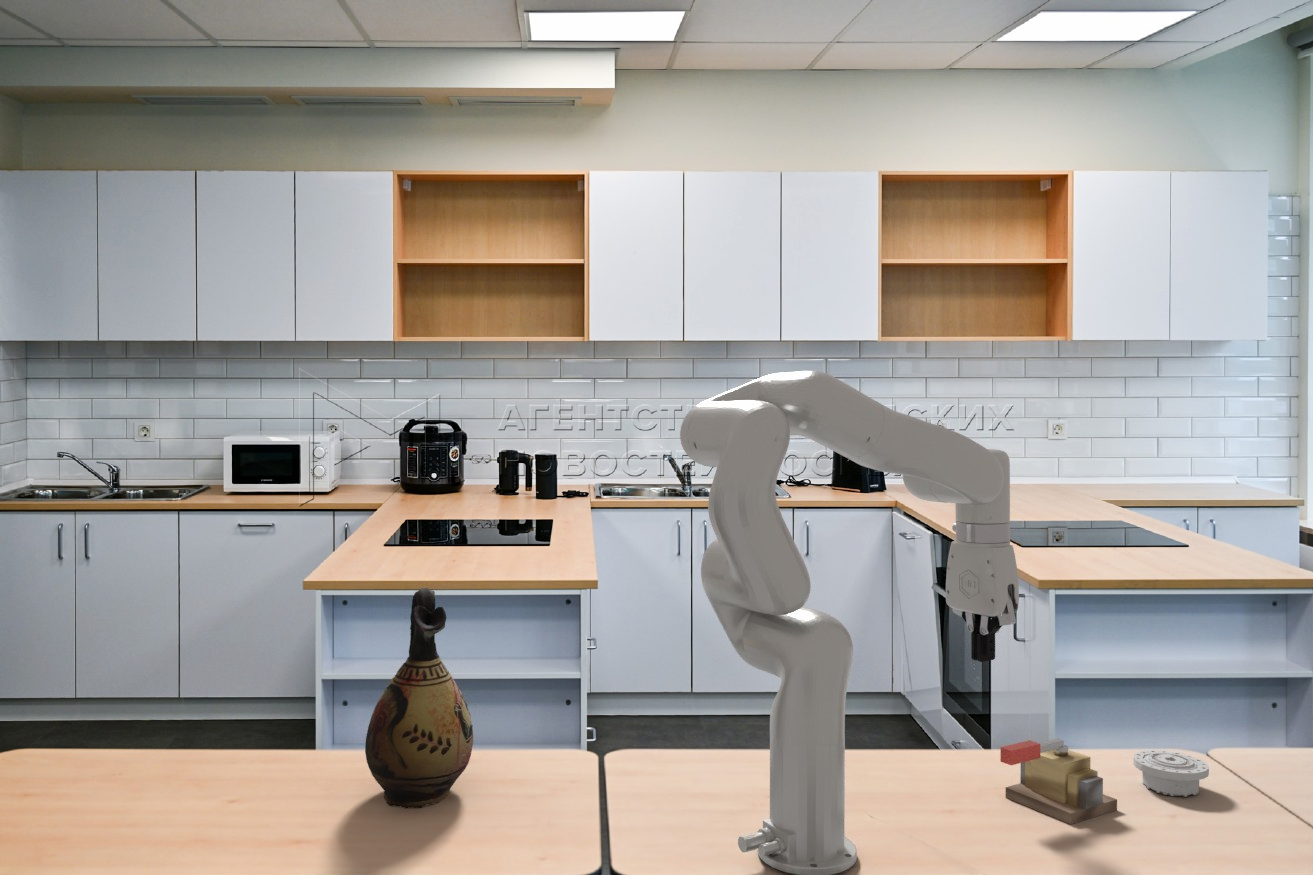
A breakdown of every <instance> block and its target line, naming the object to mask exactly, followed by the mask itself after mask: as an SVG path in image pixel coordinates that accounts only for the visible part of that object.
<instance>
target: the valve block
mask: <svg viewBox="0 0 1313 875" xmlns="http://www.w3.org/2000/svg"><path fill="white" fill-rule="evenodd" d="M1019 779H1020V783H1015V784H1012V785H1009V786H1006V787H1005V798H1006V799H1009V800H1011V801H1013V802H1016V803H1018V804H1021V805H1022V806H1025V807H1028V808H1030V809H1032V810H1036V811H1038V812H1040V813H1043V814H1045V815H1047V816H1050V817H1052V818H1054V819H1056V820H1059V821H1062V822H1064V823H1067V824H1069V825H1073V824H1076V823H1080V822H1083V821H1086V820H1090V819H1093V818H1095V817H1099V816H1101V815H1106V814H1109V813H1112V812H1114V811H1118V799H1117V798H1114V797H1112V796H1109V795H1106V794H1104V792H1103V790H1104V778H1103V777H1100V776H1098V770H1096V769H1095V770H1094V769H1092V768H1091V756H1088V755H1085V754H1082V753H1080V752H1076V751H1074V750H1071V749H1068V755H1064V756H1063V755H1057V754H1054V753H1053V750H1051V751H1047V752H1043V753H1040V758H1039V759H1035V760H1031V761H1027V762H1023V763H1020V778H1019Z"/></svg>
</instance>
